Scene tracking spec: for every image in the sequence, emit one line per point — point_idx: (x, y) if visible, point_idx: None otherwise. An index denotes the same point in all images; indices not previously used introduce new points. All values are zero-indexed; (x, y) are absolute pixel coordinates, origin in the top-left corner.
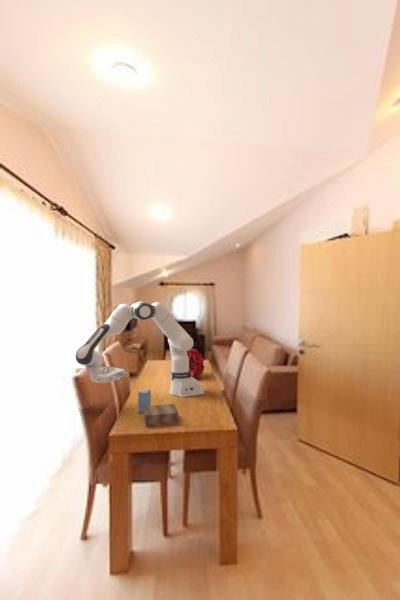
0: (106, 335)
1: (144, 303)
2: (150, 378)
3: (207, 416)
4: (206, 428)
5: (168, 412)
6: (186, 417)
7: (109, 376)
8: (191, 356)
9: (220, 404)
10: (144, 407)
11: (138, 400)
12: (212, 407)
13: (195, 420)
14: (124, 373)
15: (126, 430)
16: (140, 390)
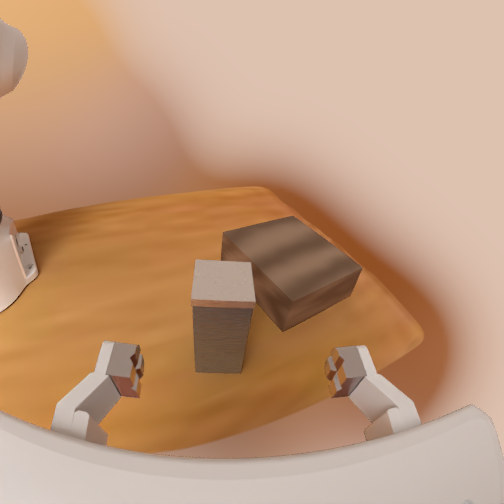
0: None
1: None
2: None
3: (210, 210)
4: (280, 206)
5: (304, 230)
6: None
7: (446, 415)
8: None
9: (118, 202)
10: (303, 294)
11: (246, 338)
12: (141, 209)
13: (245, 222)
14: (94, 402)
15: (399, 325)
16: (243, 292)
